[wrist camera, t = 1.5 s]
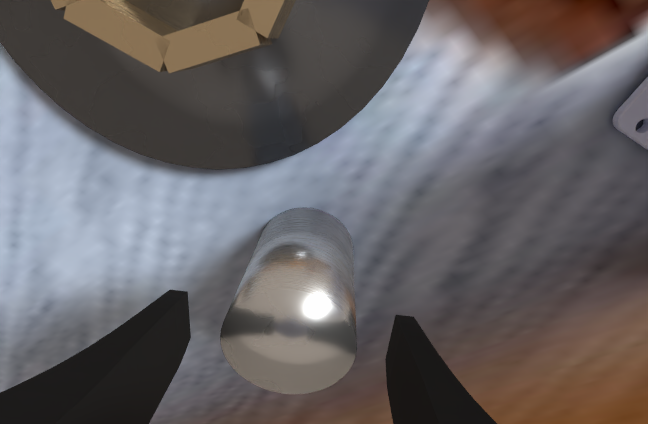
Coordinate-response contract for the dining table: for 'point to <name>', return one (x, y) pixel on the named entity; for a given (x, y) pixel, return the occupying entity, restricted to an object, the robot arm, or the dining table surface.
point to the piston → (295, 306)
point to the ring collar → (210, 69)
